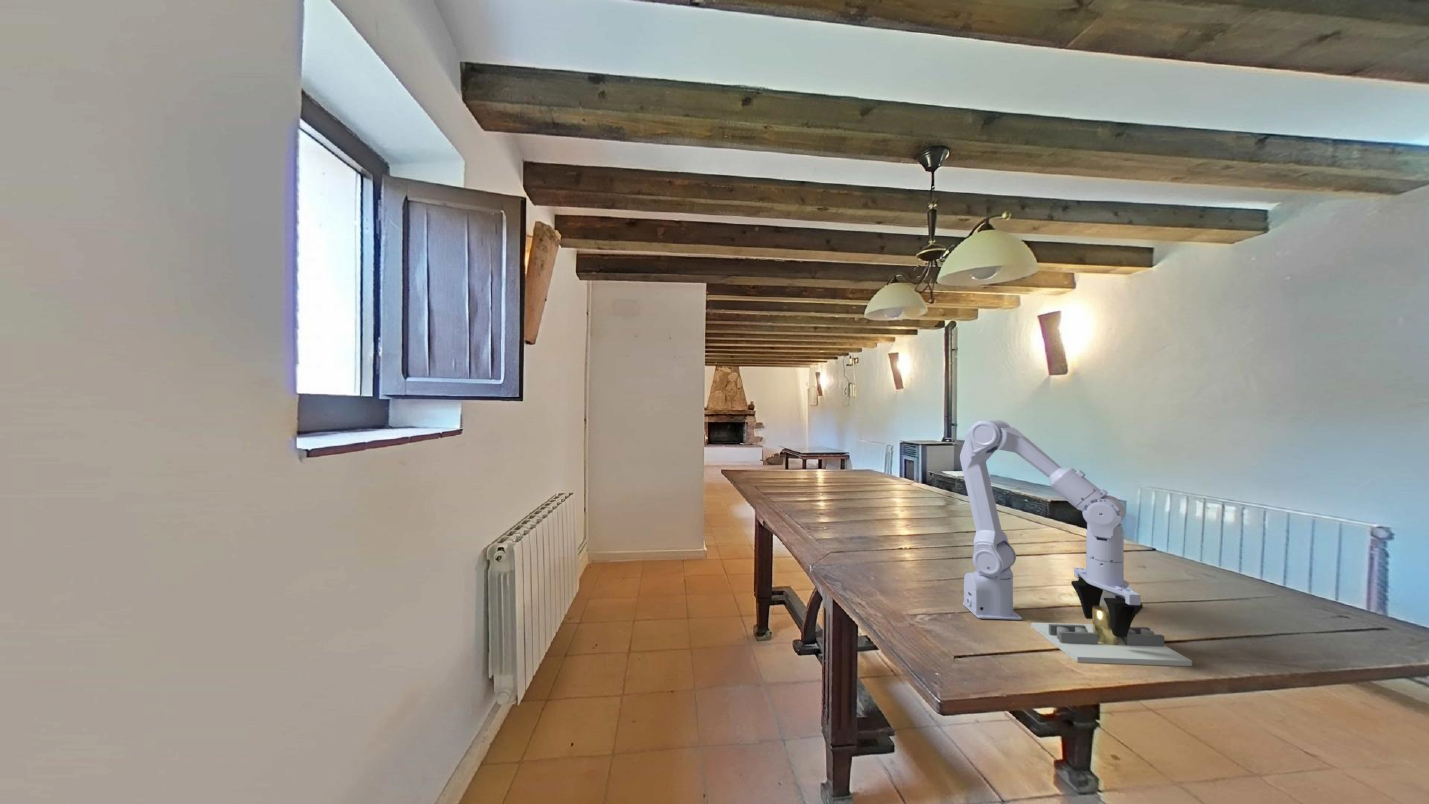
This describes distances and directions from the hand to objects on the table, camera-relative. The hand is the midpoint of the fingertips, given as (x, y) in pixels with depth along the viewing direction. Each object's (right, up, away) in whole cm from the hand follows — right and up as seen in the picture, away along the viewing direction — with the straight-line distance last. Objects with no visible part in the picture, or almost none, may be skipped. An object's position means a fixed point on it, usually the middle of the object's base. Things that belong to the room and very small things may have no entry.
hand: (1104, 626), depth 94 cm
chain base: (0, -4, 0) cm, 4 cm away
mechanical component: (+17, -4, +19) cm, 26 cm away
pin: (0, -3, 0) cm, 3 cm away
